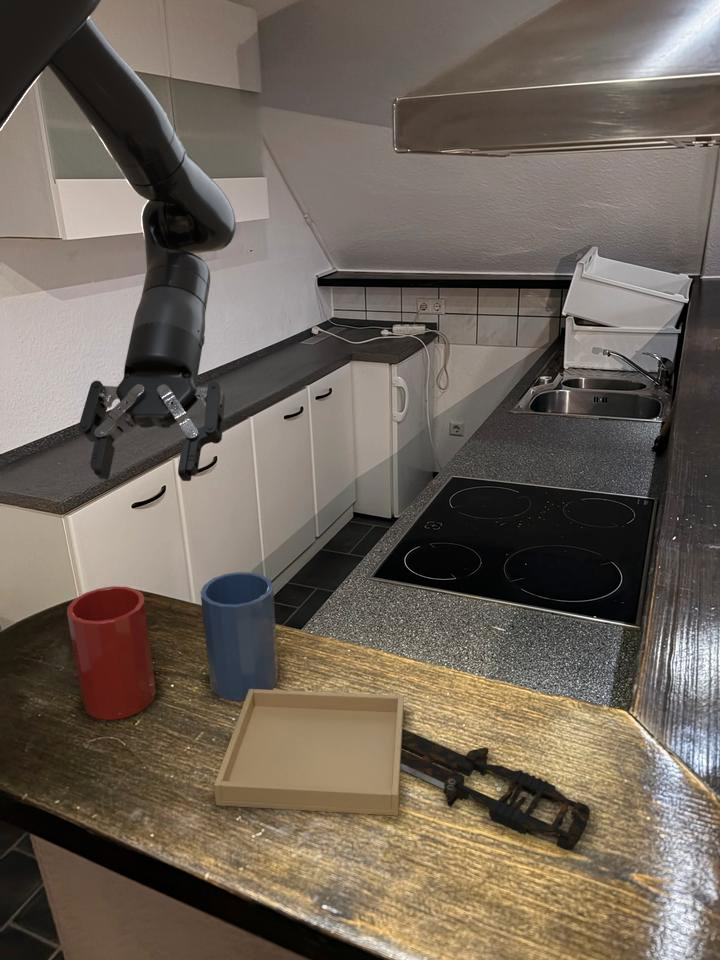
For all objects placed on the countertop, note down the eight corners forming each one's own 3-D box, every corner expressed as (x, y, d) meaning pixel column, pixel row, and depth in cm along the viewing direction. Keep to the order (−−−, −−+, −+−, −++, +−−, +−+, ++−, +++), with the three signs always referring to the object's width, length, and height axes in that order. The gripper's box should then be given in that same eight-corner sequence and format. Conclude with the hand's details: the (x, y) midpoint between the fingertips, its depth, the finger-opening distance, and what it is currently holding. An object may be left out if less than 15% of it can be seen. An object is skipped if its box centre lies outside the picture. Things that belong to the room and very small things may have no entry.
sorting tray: (215, 805, 59) (213, 785, 58) (250, 707, 70) (248, 688, 69) (397, 816, 57) (398, 795, 57) (403, 713, 69) (403, 695, 68)
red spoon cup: (71, 718, 69) (54, 622, 65) (100, 675, 75) (86, 585, 71) (141, 721, 68) (127, 624, 64) (165, 678, 74) (154, 587, 70)
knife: (297, 725, 68) (296, 711, 68) (344, 690, 73) (344, 677, 72) (559, 873, 53) (560, 858, 52) (597, 817, 58) (599, 802, 57)
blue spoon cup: (202, 699, 71) (192, 605, 67) (220, 659, 77) (211, 571, 73) (270, 702, 70) (264, 607, 67) (283, 661, 76) (278, 573, 73)
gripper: (89, 319, 79) (57, 460, 73) (223, 319, 78) (202, 462, 72) (116, 359, 86) (88, 491, 80) (239, 359, 85) (221, 493, 78)
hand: (142, 477), depth 76 cm, fingers open, 8 cm apart
